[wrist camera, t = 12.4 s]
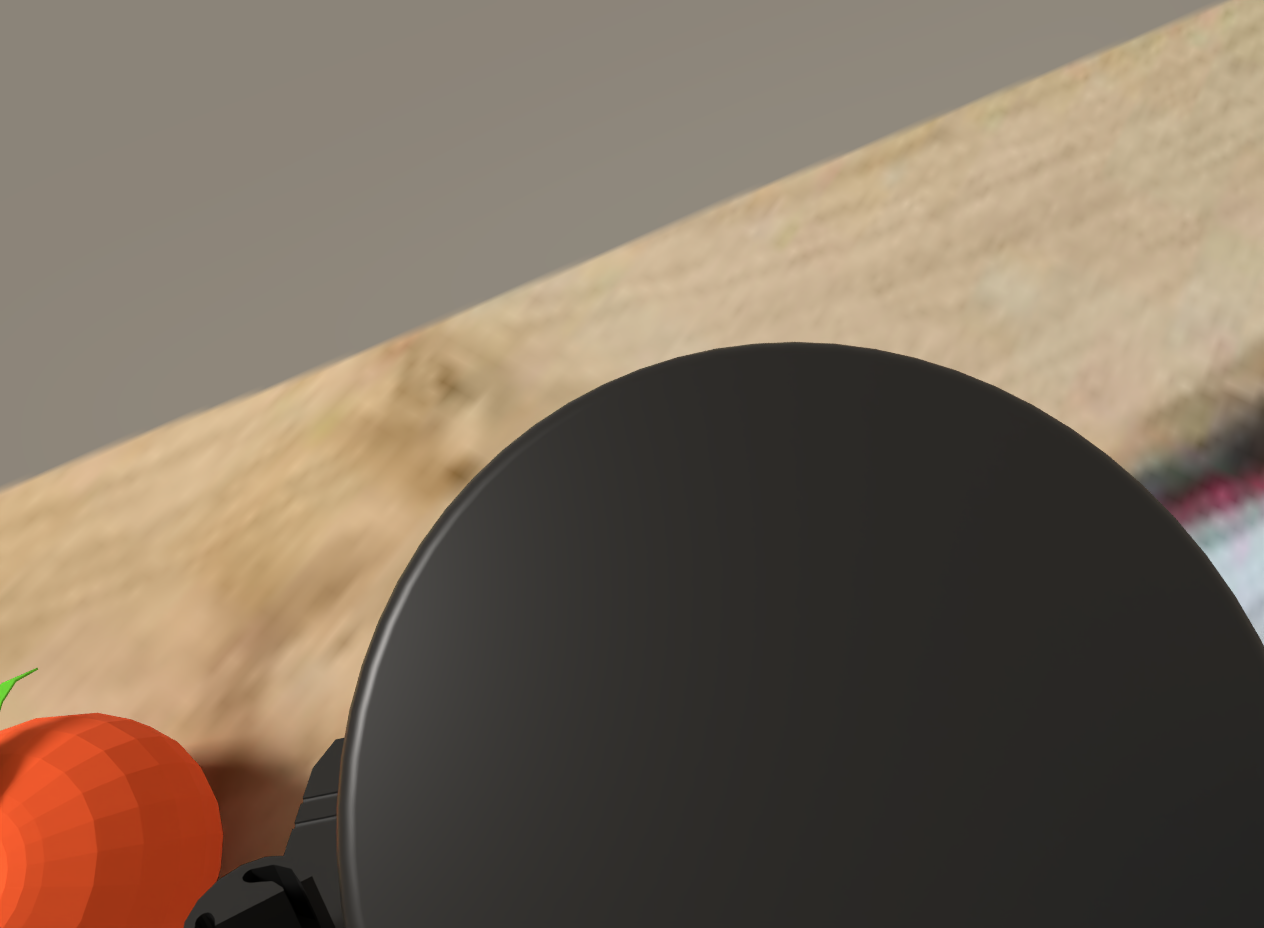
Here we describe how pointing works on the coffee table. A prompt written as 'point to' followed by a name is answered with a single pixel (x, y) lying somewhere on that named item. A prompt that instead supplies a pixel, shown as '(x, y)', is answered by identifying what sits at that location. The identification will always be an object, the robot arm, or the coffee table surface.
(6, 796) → the clementine
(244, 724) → the coffee table surface
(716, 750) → the jar
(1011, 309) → the coffee table surface
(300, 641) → the coffee table surface
